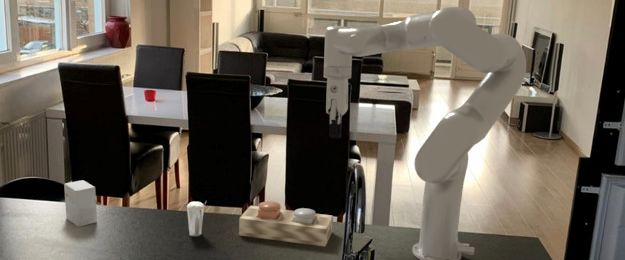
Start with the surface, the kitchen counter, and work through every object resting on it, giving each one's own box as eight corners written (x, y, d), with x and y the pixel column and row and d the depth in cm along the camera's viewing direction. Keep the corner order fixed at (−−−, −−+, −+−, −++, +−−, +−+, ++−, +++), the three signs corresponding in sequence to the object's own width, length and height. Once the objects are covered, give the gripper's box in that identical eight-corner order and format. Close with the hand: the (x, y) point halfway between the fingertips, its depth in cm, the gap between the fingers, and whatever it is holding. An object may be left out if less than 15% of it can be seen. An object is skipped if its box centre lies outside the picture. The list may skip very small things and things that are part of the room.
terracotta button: (281, 222, 173) (282, 202, 171) (276, 229, 167) (277, 209, 166) (261, 219, 174) (262, 200, 172) (255, 227, 168) (256, 207, 167)
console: (331, 232, 172) (332, 215, 171) (325, 246, 163) (326, 229, 162) (250, 221, 177) (250, 205, 176) (239, 235, 167) (239, 218, 166)
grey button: (316, 229, 171) (317, 209, 170) (312, 237, 165) (313, 217, 164) (296, 226, 172) (297, 207, 171) (291, 234, 166) (292, 214, 165)
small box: (97, 222, 171) (95, 187, 169) (77, 227, 167) (75, 191, 165) (85, 214, 177) (83, 179, 174) (65, 218, 173) (63, 183, 171)
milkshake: (203, 238, 164) (203, 203, 162) (184, 236, 165) (184, 201, 163) (209, 232, 168) (209, 198, 166) (190, 230, 169) (190, 195, 167)
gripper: (347, 76, 160) (344, 144, 164) (354, 69, 174) (351, 132, 178) (319, 74, 161) (316, 142, 165) (328, 68, 175) (326, 130, 179)
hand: (334, 137), depth 171 cm, fingers closed
